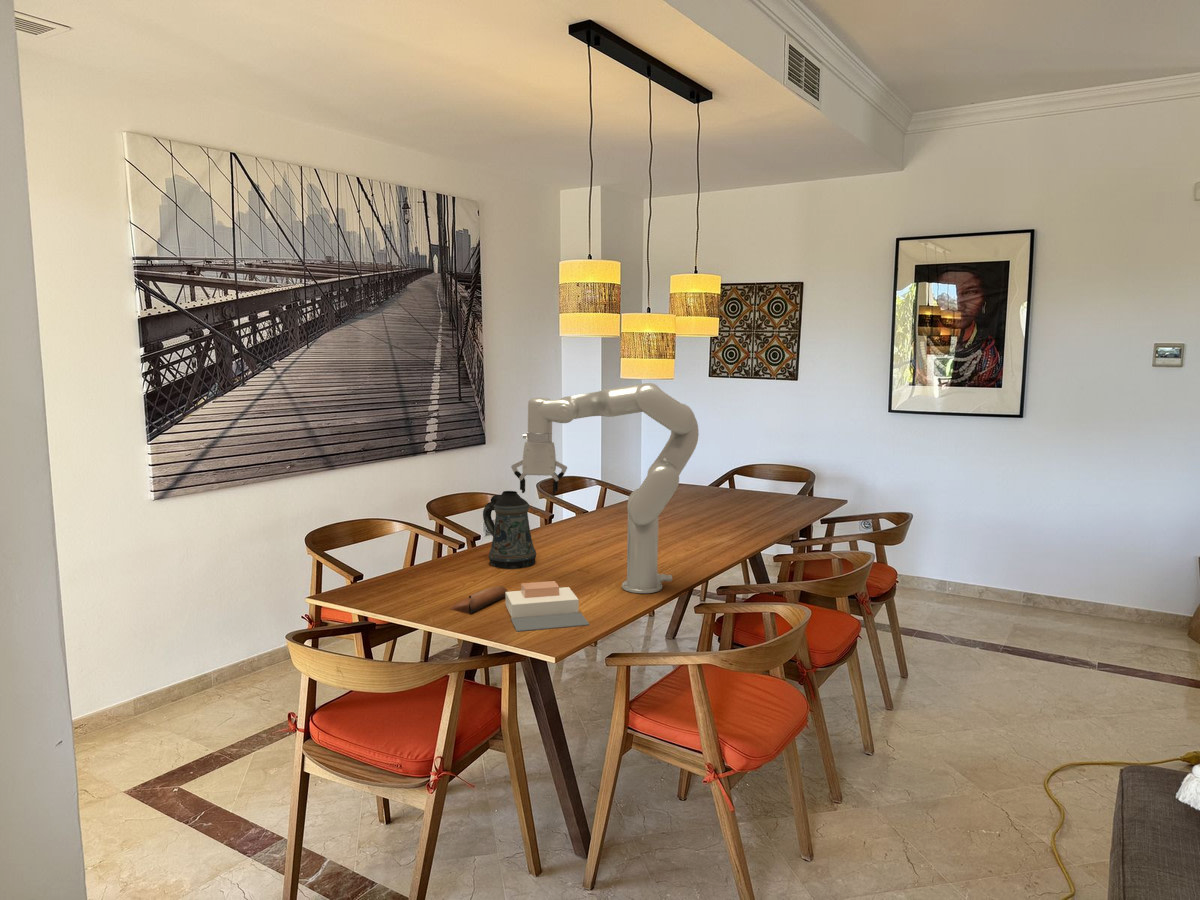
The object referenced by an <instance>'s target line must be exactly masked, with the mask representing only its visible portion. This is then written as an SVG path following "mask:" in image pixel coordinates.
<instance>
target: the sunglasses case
mask: <svg viewBox="0 0 1200 900" xmlns="http://www.w3.org/2000/svg"><path fill="white" fill-rule="evenodd" d="M505 592H509V591H508V589H507V588H506V587H505V586H503V585H500V586H498V585H497V586H491V587H488V588H486V589H482V590H480V591H477V592H474V593H472V594H470V595H469V596H468V597H467V598H465V599H463V600H460V601H459V602H457V603H456V604H454V605H453V606H451V608H450V609H449V610H450V611H454V612H459V613H463V614H468V615H471V614H474V613H475V612H477V611H478V610H480V609H481V608H484V607H485V606H488V605H490V604H492V603H495V602H497V601H499V600H501V599H504V598H506V597H505Z"/></svg>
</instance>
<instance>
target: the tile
mask: <svg viewBox="0 0 1200 900" xmlns="http://www.w3.org/2000/svg"><path fill="white" fill-rule="evenodd" d="M559 588H560V586H559V585H558V583H557V582H556V580H551V581H550V580H549V581H537V582H536V581H535V582H523V583H521V585H520V591H521V592H522V594H523V596H524V597H525V598H531V597H544V596H557V595H559Z"/></svg>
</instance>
